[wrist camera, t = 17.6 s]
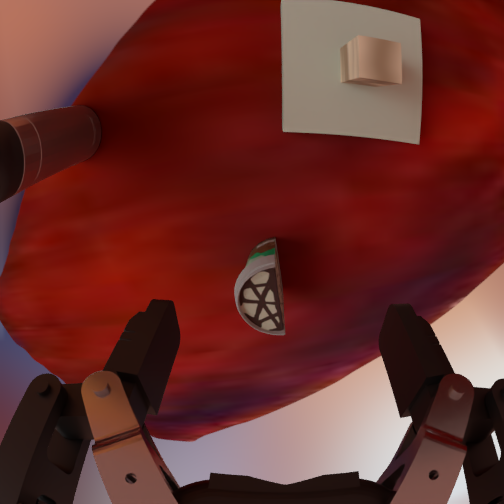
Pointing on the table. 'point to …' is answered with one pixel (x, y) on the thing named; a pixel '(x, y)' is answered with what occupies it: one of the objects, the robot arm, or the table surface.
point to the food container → (262, 290)
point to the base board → (329, 76)
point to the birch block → (371, 62)
